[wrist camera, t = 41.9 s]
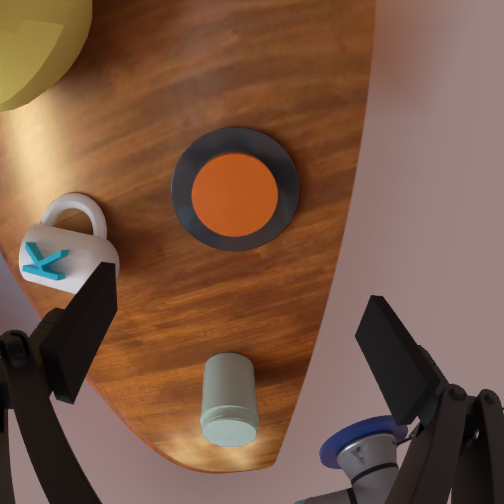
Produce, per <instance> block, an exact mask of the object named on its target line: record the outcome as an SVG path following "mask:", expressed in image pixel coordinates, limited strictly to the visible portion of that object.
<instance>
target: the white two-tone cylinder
mask: <svg viewBox="0 0 504 504" xmlns="http://www.w3.org/2000/svg"><path fill="white" fill-rule="evenodd" d="M69 208H77V209H80V210H82V211H84V212H85V213H86V214H87V215H88V217H89V218H90V220H91V222H92V225H93V235H89V234H84V233H79V232H75V231H70V230H65V229H61V228H56V227H52V226H53V223H54V221H55V219H56V217H57V216H58V215H59V214H60V213H61V212H63V211H64V210H66V209H69ZM106 238H107V226H106V220H105V217H104V215H103V212H102V210H101V208H100V207H99V206H98V204H97V203H96V202H95V201H94V200H92V199H91V198H90V197H88V196H86V195H83V194H80V193H69V194H65V195H62V196H60V197H59V198H57V199H55V200H54V201H53V202H52V203H51V204H50V205H49V206H48V207H47V209H46V211H45V212H44V214H43V216H42V219H41V222H40V224H34V225H33V226H31V227H30V228H29V229H28V231H27V232H26V234H25V236H24V238H23V241H22V243H21V248H20V252H19V267H20V272H21V274H22V276H23V277H24V278H25V279H26V280H28V281H31V282H34V283H38V284H41V285H45V286H48V287H52V288H55V289H59V290H62V291H66V292H70V293H73V294H77V292H78V291H79V290H80V288H81V287H82V286H83V284H84V283H85V282H86V280H87V279H88V278H89V276H90V275H91V274H92V273H93V271H94V270H95V269H96V268H97V266H98V265H99V264H100V263H101V261H102V262H109V263H115V265H116V281H117V278H118V275H119V269H120V263H119V257H118V253H117V251H116V249H115V247H114V246H113V245H112V243H110V242H109V241H108V240H107V239H106Z"/></svg>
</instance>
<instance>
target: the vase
mask: <svg viewBox="0 0 504 504" xmlns="http://www.w3.org/2000/svg"><path fill="white" fill-rule="evenodd" d="M91 22H92V0H0V112H1V111H8V110H13V109H15V108H18V107H20V106H23V105H26V104H28V103H29V102H31V101H32V100H34V99H35V98H36V97H38V96H39V95H41V94H42V93H43V92H45V91H46V90H47V89H49V88H50V87H51V86H53V85H54V84H55V83H56V82H57V81H58V80H59V79H60V78H61V77H62V76H63V75H64V74H65V73H66V72H67V71H68V70H69V68H70V67H71V66H72V64H73V63H74V61H75V60H76V58H77V57H78V56H79V54H80V52H81V50H82V47H83V45H84V43H85V41H86V39H87V37H88V33H89V29H90V25H91Z"/></svg>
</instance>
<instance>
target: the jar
mask: <svg viewBox="0 0 504 504" xmlns="http://www.w3.org/2000/svg"><path fill="white" fill-rule="evenodd" d="M200 422H201V425H202V433H203V436H204V438H205V439H206V440H207V441H209V442H210V443H212V444H215V445H218V446H223V447H237V446H242V445H245V444H248V443H250V442H251V441H253V440H254V439H255V437H256V435H257V432H258V430H257V426H258V424H259V416H258V405H257V395H256V384H255V373H254V366H253V364H252V362H251V361H250V360H249V359H248V358H246V357H245V356H243V355H240V354H237V353H221V354H217V355H215V356H213V357H211V358H210V359H209V360H208V361H207V362H206V364H205V366H204V375H203V388H202V402H201V416H200Z"/></svg>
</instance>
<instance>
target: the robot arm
mask: <svg viewBox="0 0 504 504" xmlns="http://www.w3.org/2000/svg"><path fill="white" fill-rule="evenodd" d="M116 312H117V293H116V265H115V263H109V262H102V261H101V263H100V264H99V265H98V266H97V268H96V269H95V270H94V271H93V273H92V274H91V275H90V276H89V278H88V279H87V280H86V282H85V283H84V284H83V286H82V287H81V288H80V290H79V291H78V292H77V294H76V295H75V296H74V298H73V299H72V300H71V302H70V303H69V304H68V306H67V307H66V309H60V308H54V309H53V310H51V311H50V312H48V313H47V314H46V315H45V317H44V318H43V319H42V321H41V322H40V323H39V325H38V326H37V328H36V329H35V330H34V331H33V333H32V334H31V335H30V337H29V338H28V336H27V334H26V333H24V332H23V331H19V330H10V331H7V332H5V333H3V334H2V335H1V336H0V357H1V358H0V504H15V498H14V491H13V484H12V477H11V466H10V455H9V437H8V409H14V412H15V415H16V418H17V422H18V425H19V428H20V431H21V434H22V438H23V440H24V443H25V446H26V449H27V452H28V454H29V457H30V460H31V462H32V465H33V467H34V470H35V472H36V474H37V477H38V479H39V482H40V484H41V486H42V488H43V490H44V493H45V494H46V497H47V499H48V501H49V503H50V504H102V502H101V501H100V499H99V498H98V496H97V494H96V493H95V491H94V489H93V488H92V486H91V484H90V482H89V481H88V479H87V477H86V475H85V474H84V472H83V470H82V468H81V466H80V464H79V462H78V461H77V459H76V457H75V455H74V453H73V451H72V449H71V447H70V445H69V443H68V440H67V438H66V436H65V434H64V432H63V430H62V427H61V425H60V423H59V421H58V418H57V416H56V414H55V411H54V409H53V406H52V404H51V401H50V399H49V397H50V395H51V393H52V391H53V392H54V395H55V397H56V399H57V400H60V401H63V402H66V403H70V404H74V401H75V399H76V397H77V395H78V392H79V390H80V388H81V385H82V383H83V381H84V379H85V376H86V374H87V372H88V370H89V368H90V365H91V363H92V361H93V359H94V357H95V355H96V353H97V350H98V348H99V346H100V344H101V342H102V340H103V338H104V336H105V334H106V332H107V330H108V328H109V326H110V324H111V322H112V320H113V318H114V316H115V314H116ZM355 338H356V340H357V342H358V344H359V346H360V348H361V350H362V352H363V354H364V356H365V358H366V360H367V362H368V364H369V366H370V369H371V371H372V373H373V375H374V377H375V379H376V381H377V383H378V385H379V388H380V390H381V391H382V394H383V396H384V398H385V401H386V403H387V405H388V407H389V409H390V412H391V414H392V416H393V418H394V420H395V423H396V425H397V426H403V425H409V424H411V423H412V422H413V421H414V419H415V418H416V417H417V416H418V417H419V419H420V422H419V423H418V425H417V426H416V427H415V428H414V430H413V431H412V432H411V434H410V435H409V438H406V439H404V440H402V441H400V442H398V443H396V439H395V437H394V434H393V433H392V432H389V431H376V432H371V433H368V434H365V435H362V436H360V437H357V438H355V439H353V440H351V441H350V442H348V443H346V444H345V445H344V446H342V447H341V448H340V449H339V451H338V452H337V454H336V458H337V462H338V464H339V466H340V467H341V468H342V470H343V471H344V472H345V474H346V475H347V476H348V477H349V479H350V481H351V484H352V488H349V489H345V490H341V491H338V492H333V493H329V494H325V495H320V496H316V497H310V498H307V499H305V500H300V501H297V502H296V503H294V504H447V501H448V497H449V494H450V490H451V487H452V491H451V504H504V414H503V410H504V408H502V406H501V402H500V399H499V397H498V396H497V395H496V393H494V392H493V391H491V390H488V389H483V390H481V392H480V393H479V395H478V396H477V397H474V396H468V395H467V393H466V392H465V390H464V389H463V388H461V387H460V386H458V385H455V384H449V383H448V381H447V379H446V378H445V376H444V375H443V373H442V372H441V370H440V369H439V367H438V366H436V363H435V362H434V360H432V357H431V356H430V354H429V353H428V351H426V350H425V349H424V348H423V347H422V346H421V345H417V344H416V342H415V341H414V339H413V338H412V336H411V335H410V333H409V332H408V331H407V329H406V328H405V326H404V325H403V324H402V322H401V321H400V319H399V318H398V316H397V315H396V314H395V312H394V311H393V309H392V308H391V307H390V305H389V304H388V303H387V301H386V300H385V299H384V297H383V296H375V295H371V297H370V299H369V302H368V304H367V307H366V310H365V312H364V315H363V317H362V320H361V322H360V325H359V327H358V329H357V332H356V334H355ZM478 432H479V434H478V438H477V437H476V434H477V433H478ZM413 434H414V435H413ZM412 435H413V436H412ZM411 439H412V440H411ZM408 440H411V443H410V446H409V448H408V451H407V453H406V456H405V458H404V461H403V463H402V466H401V468H400V470H399V468H398V465H397V462H396V446H398V445H400V444H402V443H404V442H407V441H408Z"/></svg>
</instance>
